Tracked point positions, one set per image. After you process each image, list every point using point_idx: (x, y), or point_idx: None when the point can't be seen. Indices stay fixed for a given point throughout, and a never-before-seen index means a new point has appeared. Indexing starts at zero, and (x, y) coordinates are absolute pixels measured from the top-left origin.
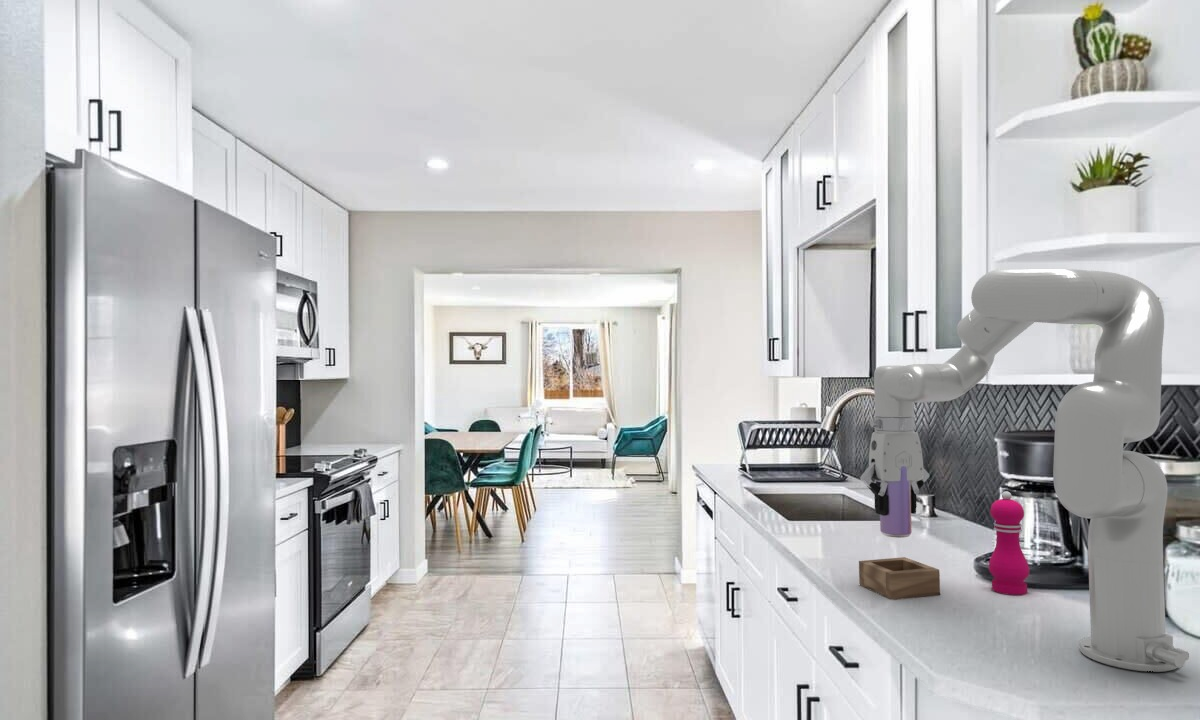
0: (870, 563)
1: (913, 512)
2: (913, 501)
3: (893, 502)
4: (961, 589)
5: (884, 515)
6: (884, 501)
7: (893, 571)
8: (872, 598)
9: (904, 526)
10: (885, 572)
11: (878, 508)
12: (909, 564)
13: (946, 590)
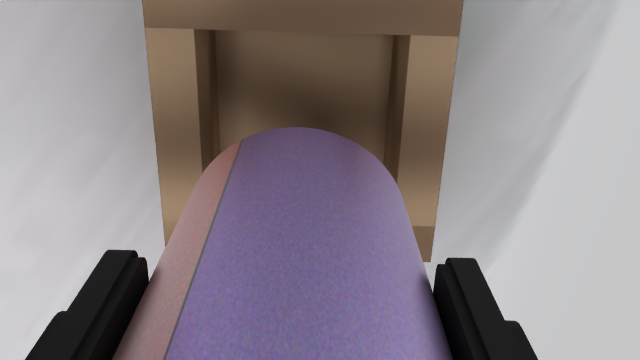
0: (411, 205)
1: (134, 256)
2: (89, 331)
3: (413, 308)
4: (20, 15)
5: (468, 260)
6: (516, 350)
7: (413, 28)
8: (498, 22)
9: (301, 148)
10: (457, 37)
11: (519, 338)
12: (204, 166)
13: (98, 23)
